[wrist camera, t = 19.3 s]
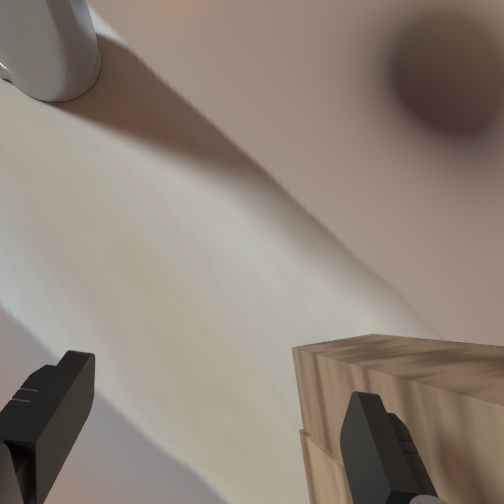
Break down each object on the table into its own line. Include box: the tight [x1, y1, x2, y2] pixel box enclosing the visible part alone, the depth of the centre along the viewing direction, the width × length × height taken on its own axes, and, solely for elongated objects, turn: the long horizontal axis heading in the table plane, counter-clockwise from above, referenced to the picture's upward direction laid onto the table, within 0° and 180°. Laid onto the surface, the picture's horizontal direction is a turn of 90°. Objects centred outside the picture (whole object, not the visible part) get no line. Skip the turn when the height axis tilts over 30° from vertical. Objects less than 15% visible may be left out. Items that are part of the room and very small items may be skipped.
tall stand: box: [292, 334, 504, 504], centre depth 27 cm, size 9×8×33 cm
